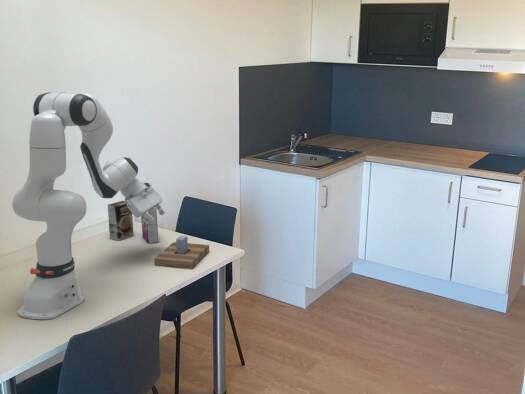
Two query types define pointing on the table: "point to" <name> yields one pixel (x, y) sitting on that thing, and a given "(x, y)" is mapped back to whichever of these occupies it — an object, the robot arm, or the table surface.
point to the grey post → (182, 245)
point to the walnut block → (181, 256)
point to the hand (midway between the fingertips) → (158, 217)
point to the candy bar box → (150, 227)
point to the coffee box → (120, 221)
